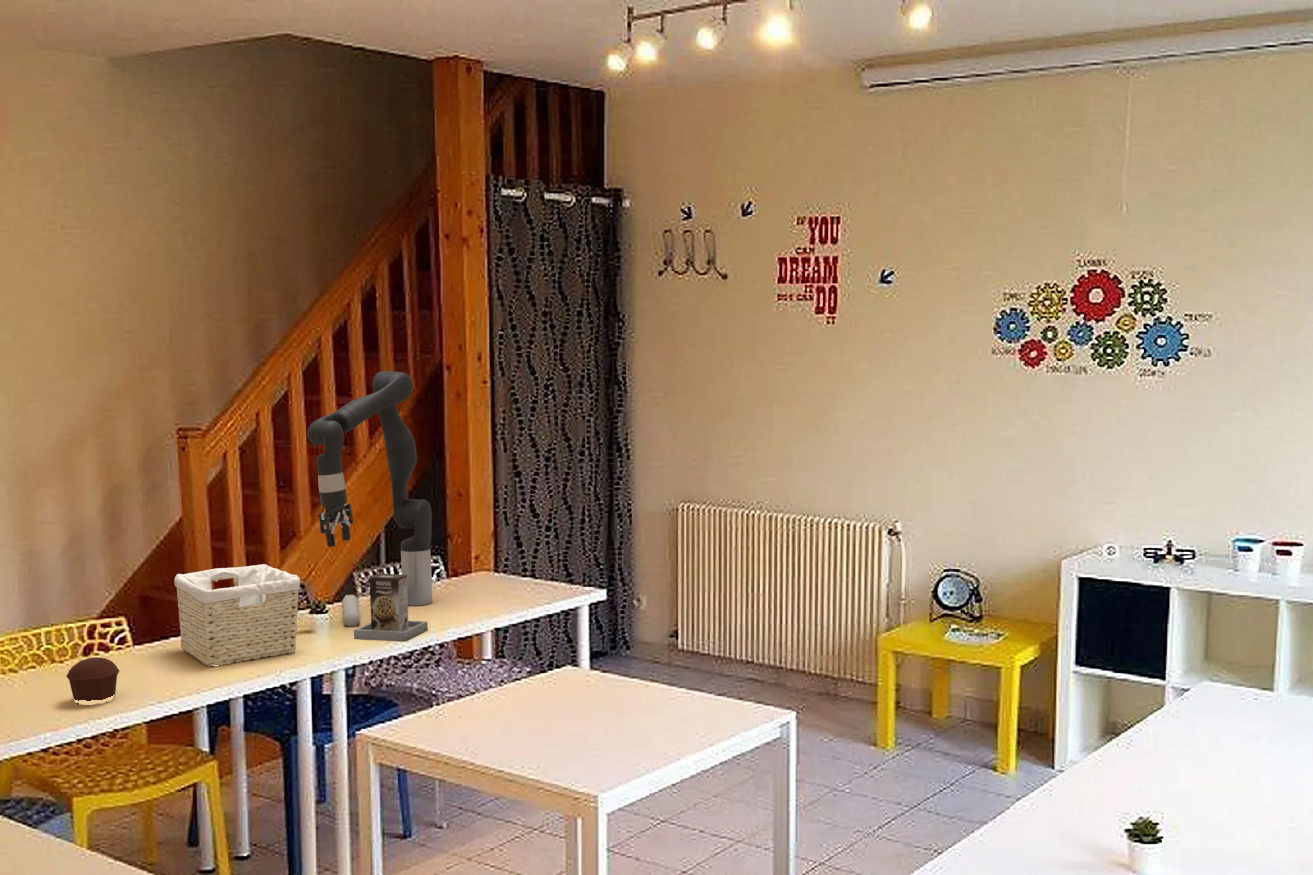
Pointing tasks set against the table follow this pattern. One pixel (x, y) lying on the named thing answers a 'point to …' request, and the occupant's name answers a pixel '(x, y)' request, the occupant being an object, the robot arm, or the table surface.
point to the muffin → (93, 679)
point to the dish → (391, 632)
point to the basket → (238, 614)
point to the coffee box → (389, 602)
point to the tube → (351, 610)
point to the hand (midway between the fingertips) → (339, 543)
